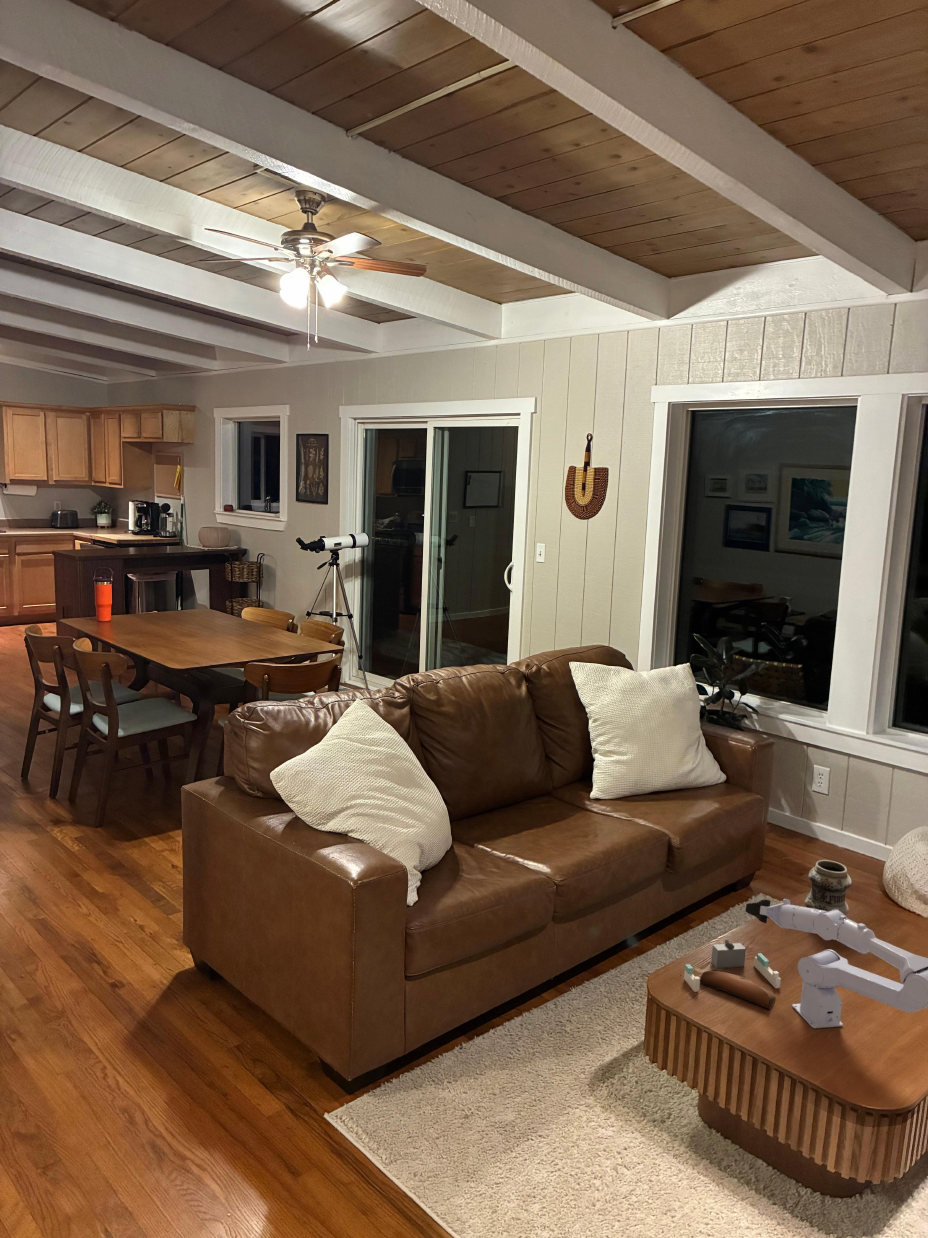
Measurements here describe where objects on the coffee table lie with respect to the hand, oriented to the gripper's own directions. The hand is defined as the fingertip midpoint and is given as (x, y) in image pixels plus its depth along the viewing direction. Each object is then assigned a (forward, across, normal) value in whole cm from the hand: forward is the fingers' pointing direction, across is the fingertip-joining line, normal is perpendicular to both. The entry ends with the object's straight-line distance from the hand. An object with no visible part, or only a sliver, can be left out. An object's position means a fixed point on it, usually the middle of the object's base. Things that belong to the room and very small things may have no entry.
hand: (757, 910), depth 235 cm
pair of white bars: (+6, +1, +18) cm, 19 cm away
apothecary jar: (+15, -45, -2) cm, 48 cm away
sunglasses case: (+2, +2, +21) cm, 21 cm away
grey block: (+11, -4, +15) cm, 19 cm away
